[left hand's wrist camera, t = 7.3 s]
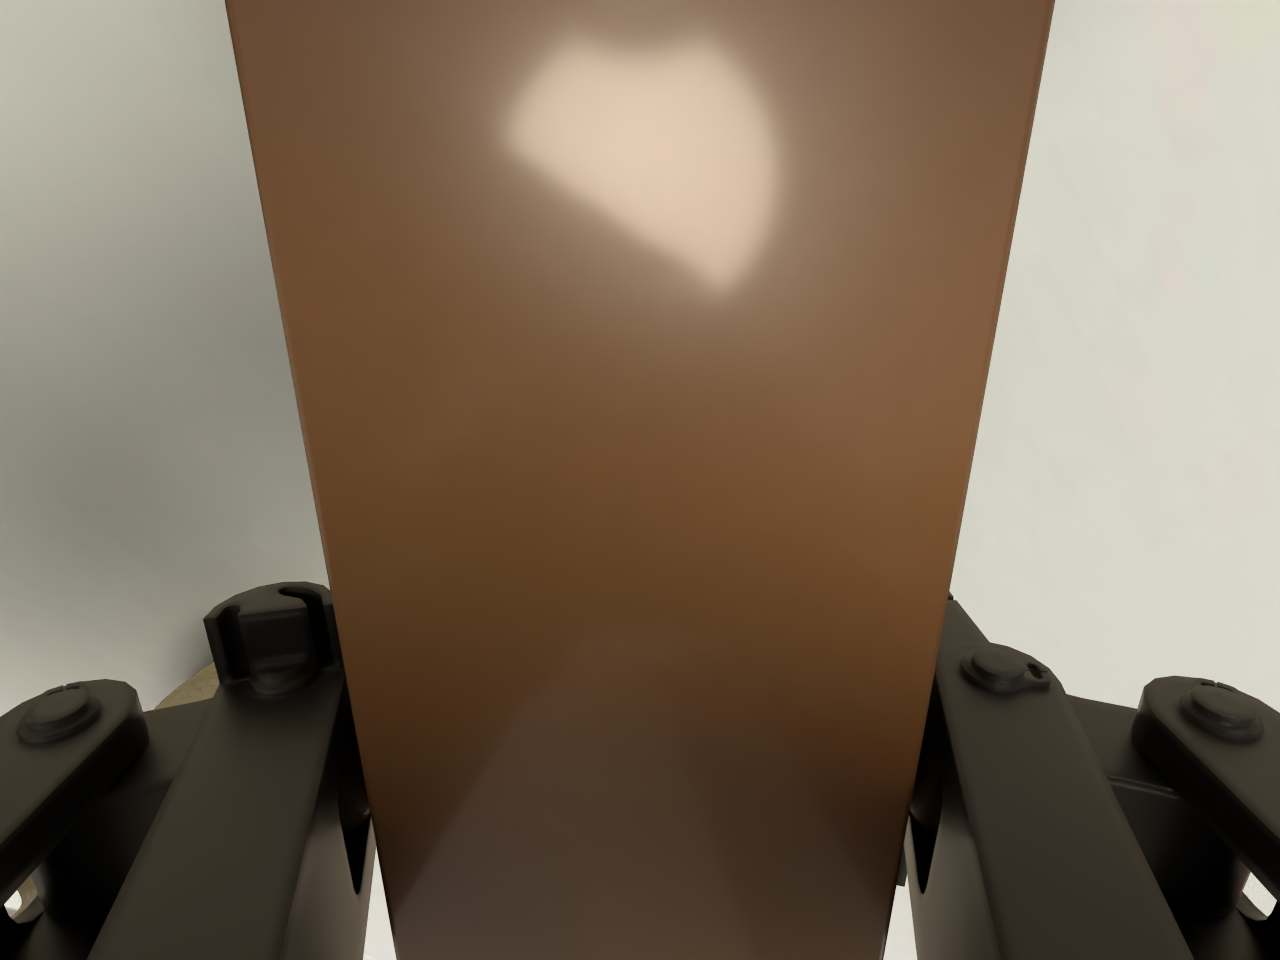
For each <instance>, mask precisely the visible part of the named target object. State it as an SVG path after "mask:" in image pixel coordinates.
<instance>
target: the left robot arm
mask: <svg viewBox="0 0 1280 960" xmlns="http://www.w3.org/2000/svg"><path fill="white" fill-rule="evenodd" d="M203 621H204V625H205V629H206V633H207V636H208V640H209V644H210V648H211V652H212V656H213V660H214V664H215V668H216V671H217V675H218V679H219V683H220V684H219V686H218V688H217V690H216V692H215V694H214V696H213V698H209V699H205V700H201V701H197V702H192V703H187V704H182V705H177V706H171V707H166V708H161V709H156V710H151V711H146V712H143V711H142V708H141V704H140V701H139V698H138V695H137V692H136V690H135V689H134V688H133V687H131V686H130V685H129V684H127V683H126V682H123V681H116V680H109V679H102V680H93V681H84V682H83V681H81V682H75V683H70V684H67V685H66V686H64V687H63V685H62V686H59V687H56V688H53V689H50V690H48V691H46V692H44V693H43V694H41V695H39V696H36V697H34V698H32V699H30V700H27V701H25V702H23V703H21V704H20V705H18V706H16V707H15V708H13V709H12V710H10V711H9V712H7V713H6V714H4V715H3V716H1V717H0V960H363V952H364V944H365V935H366V927H367V918H368V910H369V901H370V893H371V884H372V876H373V867H374V859H375V850H376V841H375V836H374V830H373V825H372V819H371V813H370V808H369V802H368V797H367V791H366V786H365V780H364V774H363V769H362V763H361V758H360V752H359V746H358V741H357V735H356V730H355V724H354V719H353V713H352V707H351V702H350V696H349V691H348V685H347V680H346V674H345V668H344V663H343V657H342V652H341V646H340V641H339V635H338V629H337V624H336V618H335V613H334V607H333V601H332V596H331V591H330V590H329V589H327V588H326V587H325V586H323V585H319V584H314V583H310V582H281V583H276V584H271V585H266V586H260V587H257V588H254V589H251V590H248V591H245V592H243V593H240V594H237V595H235V596H233V597H231V598H229V599H228V600H226V601H224V602H222V603H221V604H219V605H217V606H215V607H214V608H213V609H212V611H211V612H210V613H209V614H208V615H207V616H206V617H205V618H204V619H203ZM1250 872H1252V873H1253V874H1254V876H1255V877H1256V878H1257V879H1258V880H1259V881H1260V882H1261V883H1262V884H1263V885H1264V887H1265V888H1266V889H1267V890H1268V891H1269V892H1270V893H1271V894H1272V895H1273V896H1274V898H1275V899H1276V900H1277V902H1276V904H1275V907H1274V909H1273V911H1272V913H1271V914H1270V915H1269V916H1266V915H1265V914H1263V913H1262V912H1261V911H1260V910H1259V909H1258V908H1257V907H1256V906H1255V905H1254V904H1253V903H1252V902H1251V901H1250V900H1249V898H1248V897H1247V896H1246V895H1245V894H1244V893H1243V892H1242V891H1243V889H1244V886H1245V884H1246V882H1247V879H1248V877H1249V875H1250ZM907 874H908V883H909V891H910V900H911V908H912V917H913V925H914V934H915V942H916V951H917V959H918V960H1280V713H1279V712H1277V711H1276V710H1274V709H1273V708H1271V707H1270V706H1268V705H1266V704H1265V703H1263V702H1262V701H1260V700H1259V699H1257V698H1254V697H1252V696H1250V695H1247V694H1245V693H1243V692H1241V691H1238V690H1237V689H1236V688H1234V687H1232V686H1229V685H1226V684H1223V683H1220V682H1217V683H1215V682H1214V681H1212V680H1207V679H1203V678H1191V677H1182V676H1169V677H1162V678H1155V679H1154V680H1153V681H1151V682H1150V683H1149V684H1147V685H1146V686H1145V687H1144V689H1143V693H1142V696H1141V699H1140V702H1139V706H1138V709H1135V708H1130V707H1125V706H1120V705H1115V704H1109V703H1104V702H1099V701H1094V700H1089V699H1084V698H1080V697H1076V696H1072V695H1068V694H1066V693H1065V691H1064V689H1063V686H1062V684H1061V682H1060V681H1059V680H1058V679H1057V677H1056V676H1055V675H1054V674H1053V672H1052V671H1051V670H1050V669H1049V668H1048V667H1046V666H1045V665H1043V664H1042V663H1040V662H1039V661H1038V660H1036V659H1035V658H1033V657H1032V656H1030V655H1027V654H1025V653H1023V652H1020V651H1018V650H1015V649H1013V648H1011V647H1008V646H1004V645H999V644H995V643H990V642H989V641H988V640H987V639H986V637H985V636H984V635H983V633H982V632H981V631H980V630H979V628H978V627H977V626H976V625H975V623H974V622H973V621H972V620H971V618H970V617H969V616H968V615H967V613H966V612H965V611H964V609H963V608H962V607H961V606H960V604H959V603H958V602H957V601H956V600H953V596H952V594H951V593H950V592H949V594H948V600H947V606H946V611H945V617H944V622H943V628H942V633H941V639H940V645H939V650H938V656H937V661H936V667H935V672H934V678H933V684H932V689H931V695H930V700H929V706H928V711H927V717H926V723H925V728H924V734H923V739H922V745H921V751H920V756H919V762H918V767H917V773H916V778H915V784H914V790H913V795H912V801H911V806H910V812H909V817H908V823H907V829H906V834H905V840H904V845H903V851H902V856H901V862H900V868H899V873H898V879H897V884H896V885H899V886H904V887H905V882H906V877H907ZM29 876H31V879H32V881H33V883H34V886H35V888H36V890H37V893H38V895H37V896H36V898H35V899H34V900H33V901H32V902H31V903H30V904H29V906H28V907H27V908H26V909H25V910H24V911H23V912H21V913H20V914H19V915H18V916H16V917H15V918H14V919H12V918H11V917H9V915H8V913H7V911H6V908H5V906H4V904H5V903H6V901H7V900H8V899H9V898H10V897H11V896H12V895H13V894H14V893H15V891H16V890H17V889H18V888H19V887H20V886H21V885H22V884H23V883H24V881H25V880H26V879H27V878H28V877H29Z"/></svg>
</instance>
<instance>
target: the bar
mask: <svg viewBox="0 0 1280 960" xmlns="http://www.w3.org/2000/svg"><path fill="white" fill-rule="evenodd" d="M1054 3H1055V0H225V5H226V10H227V16H228V21H229V27H230V33H231V38H232V44H233V49H234V55H235V60H236V66H237V72H238V77H239V83H240V88H241V94H242V99H243V105H244V111H245V116H246V122H247V127H248V133H249V139H250V144H251V150H252V155H253V161H254V166H255V172H256V178H257V183H258V189H259V194H260V200H261V205H262V211H263V217H264V222H265V228H266V233H267V239H268V244H269V250H270V256H271V261H272V267H273V272H274V278H275V284H276V289H277V295H278V300H279V306H280V311H281V317H282V323H283V328H284V334H285V339H286V345H287V350H288V356H289V362H290V367H291V373H292V378H293V384H294V390H295V395H296V401H297V406H298V412H299V417H300V423H301V429H302V434H303V440H304V445H305V451H306V456H307V462H308V468H309V473H310V479H311V484H312V490H313V495H314V501H315V507H316V512H317V518H318V523H319V529H320V535H321V540H322V546H323V551H324V557H325V562H326V568H327V574H328V579H329V585H330V590H331V596H332V601H333V607H334V613H335V618H336V624H337V629H338V635H339V641H340V646H341V652H342V657H343V663H344V668H345V674H346V680H347V685H348V691H349V696H350V702H351V707H352V713H353V719H354V724H355V730H356V735H357V741H358V746H359V752H360V758H361V763H362V769H363V774H364V780H365V786H366V791H367V797H368V802H369V808H370V813H371V819H372V825H373V830H374V836H375V841H376V847H377V852H378V858H379V864H380V869H381V875H382V880H383V886H384V892H385V897H386V903H387V908H388V914H389V919H390V925H391V931H392V936H393V942H394V947H395V953H396V958H397V960H883V957H884V951H885V946H886V940H887V935H888V929H889V923H890V918H891V912H892V907H893V901H894V896H895V890H896V884H897V879H898V873H899V868H900V862H901V856H902V851H903V845H904V840H905V834H906V829H907V823H908V817H909V812H910V806H911V801H912V795H913V790H914V784H915V778H916V773H917V767H918V762H919V756H920V751H921V745H922V739H923V734H924V728H925V723H926V717H927V711H928V706H929V700H930V695H931V689H932V684H933V678H934V672H935V667H936V661H937V656H938V650H939V645H940V639H941V633H942V628H943V622H944V617H945V611H946V606H947V600H948V594H949V589H950V583H951V578H952V572H953V566H954V561H955V555H956V550H957V544H958V539H959V533H960V527H961V522H962V516H963V511H964V505H965V500H966V494H967V488H968V483H969V477H970V472H971V466H972V461H973V455H974V449H975V444H976V438H977V433H978V427H979V422H980V416H981V410H982V405H983V399H984V394H985V388H986V382H987V377H988V371H989V366H990V360H991V355H992V349H993V343H994V338H995V332H996V327H997V321H998V316H999V310H1000V304H1001V299H1002V293H1003V288H1004V282H1005V277H1006V271H1007V265H1008V260H1009V254H1010V249H1011V243H1012V237H1013V232H1014V226H1015V221H1016V215H1017V210H1018V204H1019V198H1020V193H1021V187H1022V182H1023V176H1024V171H1025V165H1026V159H1027V154H1028V148H1029V143H1030V137H1031V132H1032V126H1033V120H1034V115H1035V109H1036V104H1037V98H1038V93H1039V87H1040V81H1041V76H1042V70H1043V65H1044V59H1045V53H1046V48H1047V42H1048V37H1049V31H1050V26H1051V20H1052V14H1053V9H1054Z"/></svg>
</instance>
